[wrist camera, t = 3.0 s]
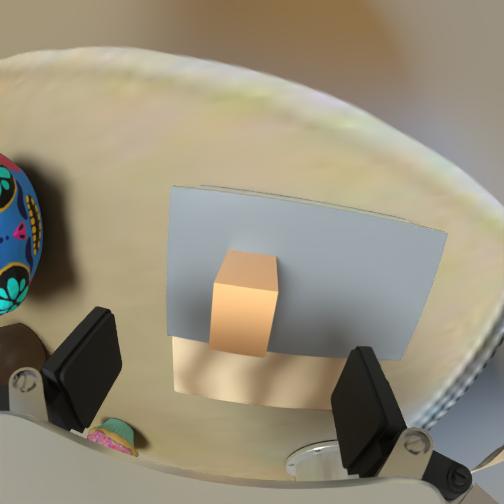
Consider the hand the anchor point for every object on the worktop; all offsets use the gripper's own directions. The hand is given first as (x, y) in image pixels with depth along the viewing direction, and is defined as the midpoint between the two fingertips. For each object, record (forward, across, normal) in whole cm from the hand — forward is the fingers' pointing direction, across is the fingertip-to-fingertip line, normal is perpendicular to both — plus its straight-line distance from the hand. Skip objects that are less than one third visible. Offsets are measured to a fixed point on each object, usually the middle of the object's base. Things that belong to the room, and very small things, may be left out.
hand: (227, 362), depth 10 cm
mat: (+15, -4, +13) cm, 20 cm away
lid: (+9, -4, +1) cm, 10 cm away
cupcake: (+15, +17, +34) cm, 40 cm away
